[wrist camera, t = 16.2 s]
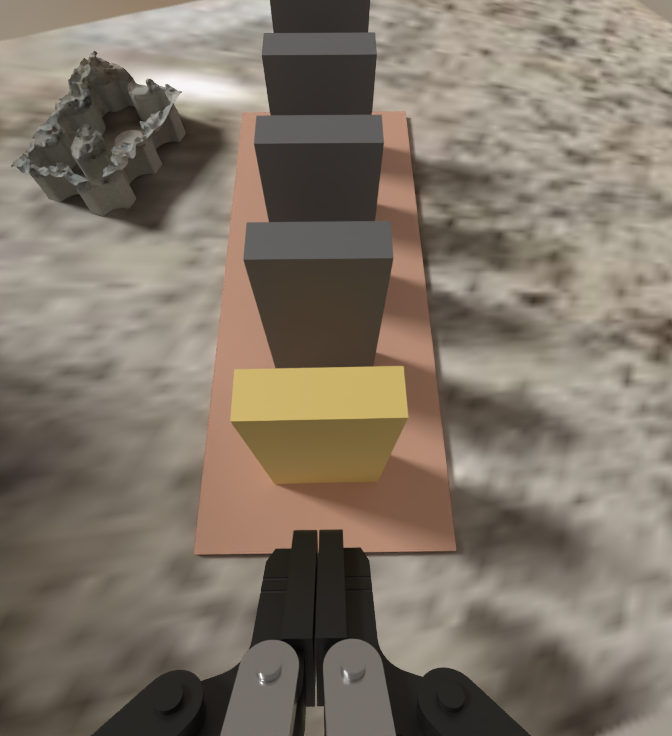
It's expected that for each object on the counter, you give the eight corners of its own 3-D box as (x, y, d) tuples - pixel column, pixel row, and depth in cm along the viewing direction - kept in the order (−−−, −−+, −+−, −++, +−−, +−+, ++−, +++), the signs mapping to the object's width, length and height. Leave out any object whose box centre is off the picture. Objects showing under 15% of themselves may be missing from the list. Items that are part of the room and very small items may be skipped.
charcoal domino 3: (367, 291, 26) (384, 142, 17) (282, 292, 26) (253, 143, 17) (366, 269, 27) (381, 114, 18) (283, 270, 27) (256, 115, 18)
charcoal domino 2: (363, 219, 28) (376, 54, 19) (285, 220, 28) (261, 54, 19) (362, 200, 29) (375, 32, 20) (286, 201, 29) (263, 33, 20)
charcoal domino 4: (371, 377, 24) (393, 258, 15) (278, 378, 24) (243, 259, 15) (369, 350, 25) (390, 220, 15) (279, 351, 24) (246, 222, 15)
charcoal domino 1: (360, 158, 31) (370, -16, 22) (288, 158, 31) (268, -15, 22) (359, 142, 31) (369, -33, 22) (289, 142, 31) (269, -33, 22)
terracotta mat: (454, 551, 21) (456, 550, 20) (196, 554, 21) (193, 554, 20) (404, 116, 33) (405, 111, 33) (243, 117, 33) (242, 112, 33)
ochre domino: (377, 481, 22) (408, 417, 12) (274, 484, 22) (229, 421, 12) (375, 449, 22) (403, 365, 13) (275, 451, 22) (233, 369, 13)
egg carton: (120, 101, 34) (94, 44, 31) (204, 129, 33) (187, 72, 29) (27, 194, 30) (-17, 141, 26) (118, 230, 29) (86, 179, 25)
